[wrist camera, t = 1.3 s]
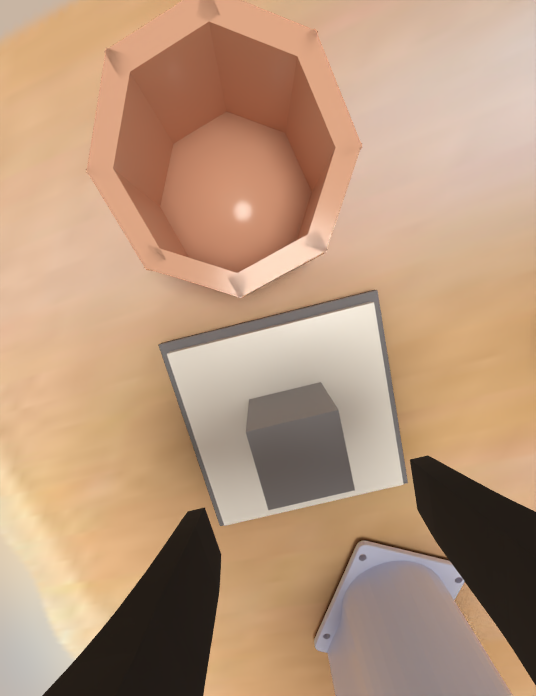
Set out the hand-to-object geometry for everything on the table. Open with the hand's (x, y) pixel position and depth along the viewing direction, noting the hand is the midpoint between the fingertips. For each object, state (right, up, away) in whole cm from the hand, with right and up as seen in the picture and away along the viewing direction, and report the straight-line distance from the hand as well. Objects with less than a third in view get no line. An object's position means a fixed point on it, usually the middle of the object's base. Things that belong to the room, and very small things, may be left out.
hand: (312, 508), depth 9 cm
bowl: (-3, +13, +5) cm, 14 cm away
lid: (0, +1, +7) cm, 7 cm away
